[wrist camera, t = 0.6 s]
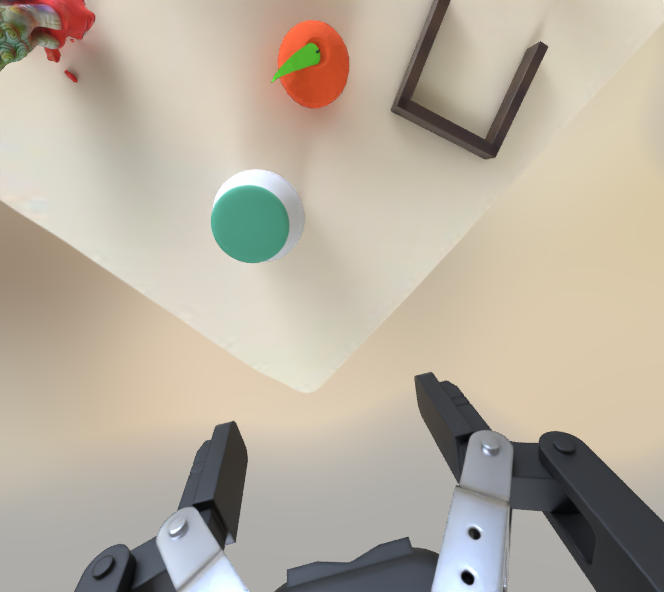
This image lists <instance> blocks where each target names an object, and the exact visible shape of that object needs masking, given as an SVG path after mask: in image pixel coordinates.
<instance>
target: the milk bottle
mask: <svg viewBox="0 0 664 592" xmlns="http://www.w3.org/2000/svg"><path fill="white" fill-rule="evenodd" d="M304 223H305V213H304V207H303V204H302V201H301V199H300V196H299V195H298V193H297V191H296V190H295V189H294V187H293V186H292V185H291V184H290V183H289V182H288V181H287V180H285V179H284V178H283V177H281V176H279V175H277V174H275V173H273V172H270V171H266V170H248V171H244V172H241V173H238V174H236V175H234V176H233V177H231V178H230V179H229V180H227V181H226V182H225V183H224V184H223V186H222V187H221V188H220V190H219V191H218V193H217V195H216V198H215V201H214V205H213V211H212V215H211V228H212V233H213V236H214V238H215V240H216V242H217V244H218V245H219V246H220V248H221V249H222V250H223V251H224V252H225V253H226V254H228V255H229V256H231V257H232V258H234V259H236V260H239V261H242V262H247V263H259V262H268V261H273V260H276V259H279V258H281V257H283V256H284V255H286V254H287V253H288V252H290V251H291V250H292V249H293V248H294V247H295V245H296V244H297V243H298V241H299V239H300V237H301V235H302V232H303V229H304Z"/></svg>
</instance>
